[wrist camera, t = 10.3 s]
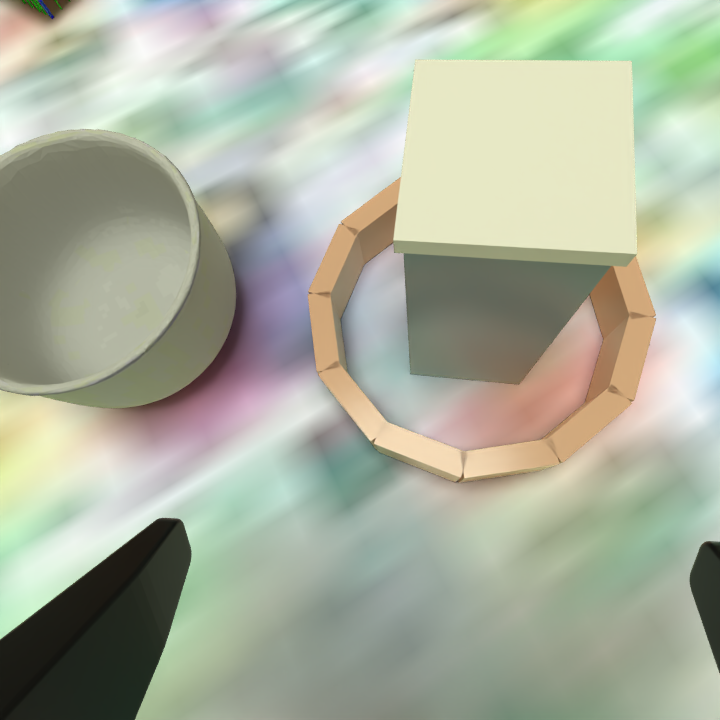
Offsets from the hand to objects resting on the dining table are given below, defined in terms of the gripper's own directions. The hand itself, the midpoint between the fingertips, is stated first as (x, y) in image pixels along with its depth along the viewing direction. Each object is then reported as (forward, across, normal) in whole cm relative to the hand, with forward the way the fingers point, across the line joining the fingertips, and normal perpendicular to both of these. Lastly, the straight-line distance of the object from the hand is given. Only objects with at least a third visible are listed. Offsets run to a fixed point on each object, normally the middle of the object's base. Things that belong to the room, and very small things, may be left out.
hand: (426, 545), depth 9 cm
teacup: (+16, +15, +3) cm, 22 cm away
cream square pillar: (+16, -2, +3) cm, 17 cm away
